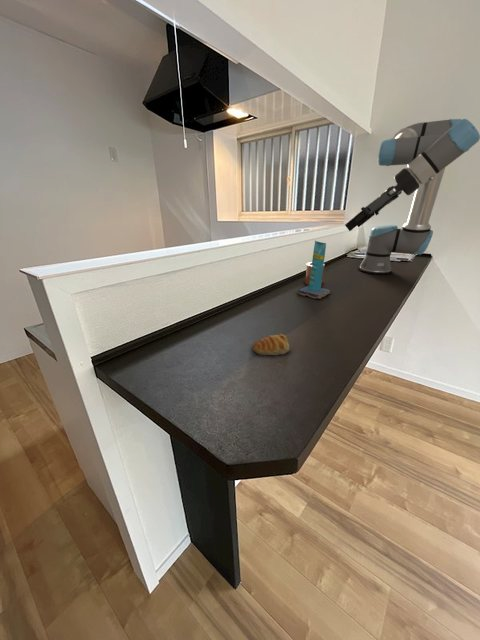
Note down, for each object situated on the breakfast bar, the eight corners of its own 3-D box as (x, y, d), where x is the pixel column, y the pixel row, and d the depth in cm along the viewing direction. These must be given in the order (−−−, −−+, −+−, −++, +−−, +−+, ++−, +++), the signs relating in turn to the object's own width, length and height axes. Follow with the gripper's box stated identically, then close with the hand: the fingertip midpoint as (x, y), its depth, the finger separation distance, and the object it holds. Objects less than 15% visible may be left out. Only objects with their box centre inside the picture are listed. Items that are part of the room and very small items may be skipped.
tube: (304, 287, 112) (309, 240, 103) (313, 285, 113) (319, 239, 105) (315, 292, 105) (322, 243, 97) (325, 291, 107) (332, 242, 99)
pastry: (258, 359, 66) (258, 346, 65) (248, 346, 72) (249, 334, 70) (291, 353, 69) (292, 340, 67) (279, 341, 75) (280, 329, 73)
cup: (308, 280, 128) (310, 261, 124) (324, 282, 124) (327, 263, 120) (302, 284, 122) (304, 264, 118) (318, 287, 118) (321, 267, 114)
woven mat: (331, 293, 111) (331, 289, 110) (318, 300, 104) (319, 295, 103) (308, 288, 117) (309, 283, 116) (296, 294, 110) (296, 289, 109)
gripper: (419, 185, 69) (350, 239, 84) (422, 186, 88) (365, 230, 102) (401, 163, 70) (335, 220, 84) (408, 169, 89) (353, 215, 103)
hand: (352, 226), depth 93 cm, fingers open, 13 cm apart
